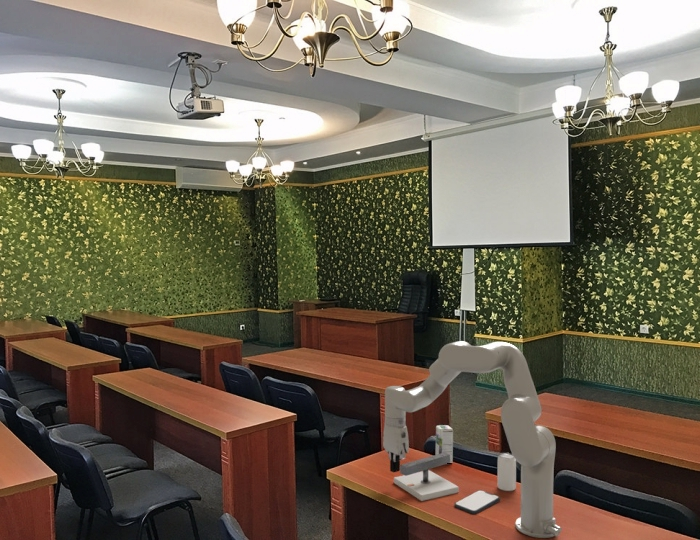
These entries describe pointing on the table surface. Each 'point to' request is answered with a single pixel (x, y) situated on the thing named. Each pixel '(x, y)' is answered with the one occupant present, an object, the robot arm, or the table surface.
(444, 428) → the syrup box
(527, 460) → the robot arm
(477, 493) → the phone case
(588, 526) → the table surface
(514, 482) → the can
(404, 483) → the key plate
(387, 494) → the table surface
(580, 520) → the table surface
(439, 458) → the t key
